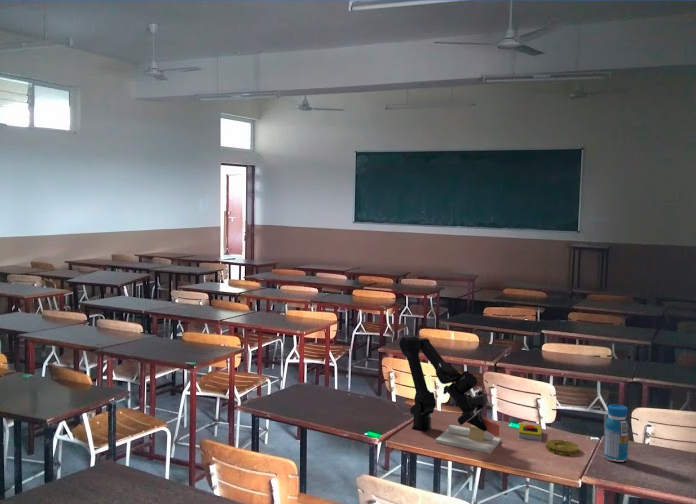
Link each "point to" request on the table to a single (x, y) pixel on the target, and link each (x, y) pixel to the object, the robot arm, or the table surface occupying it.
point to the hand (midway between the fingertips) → (485, 430)
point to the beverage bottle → (616, 433)
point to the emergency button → (530, 432)
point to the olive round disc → (562, 447)
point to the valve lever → (491, 427)
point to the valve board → (469, 438)
